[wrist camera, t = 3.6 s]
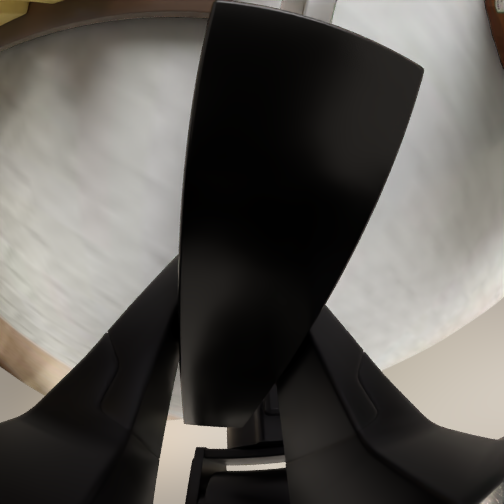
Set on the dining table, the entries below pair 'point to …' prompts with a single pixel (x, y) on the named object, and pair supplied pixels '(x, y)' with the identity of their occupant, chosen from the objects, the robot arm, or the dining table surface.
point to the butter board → (92, 15)
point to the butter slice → (43, 0)
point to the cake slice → (497, 24)
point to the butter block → (12, 10)
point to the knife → (276, 190)
